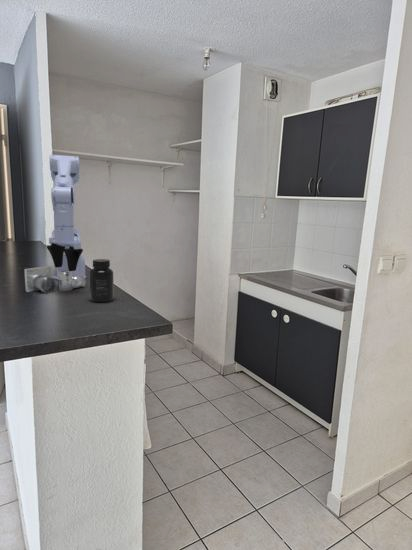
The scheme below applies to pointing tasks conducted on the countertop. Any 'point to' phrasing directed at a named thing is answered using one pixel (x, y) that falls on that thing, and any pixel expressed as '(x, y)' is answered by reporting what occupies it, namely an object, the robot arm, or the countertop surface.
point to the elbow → (70, 280)
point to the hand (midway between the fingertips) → (65, 268)
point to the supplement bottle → (101, 281)
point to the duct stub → (39, 279)
